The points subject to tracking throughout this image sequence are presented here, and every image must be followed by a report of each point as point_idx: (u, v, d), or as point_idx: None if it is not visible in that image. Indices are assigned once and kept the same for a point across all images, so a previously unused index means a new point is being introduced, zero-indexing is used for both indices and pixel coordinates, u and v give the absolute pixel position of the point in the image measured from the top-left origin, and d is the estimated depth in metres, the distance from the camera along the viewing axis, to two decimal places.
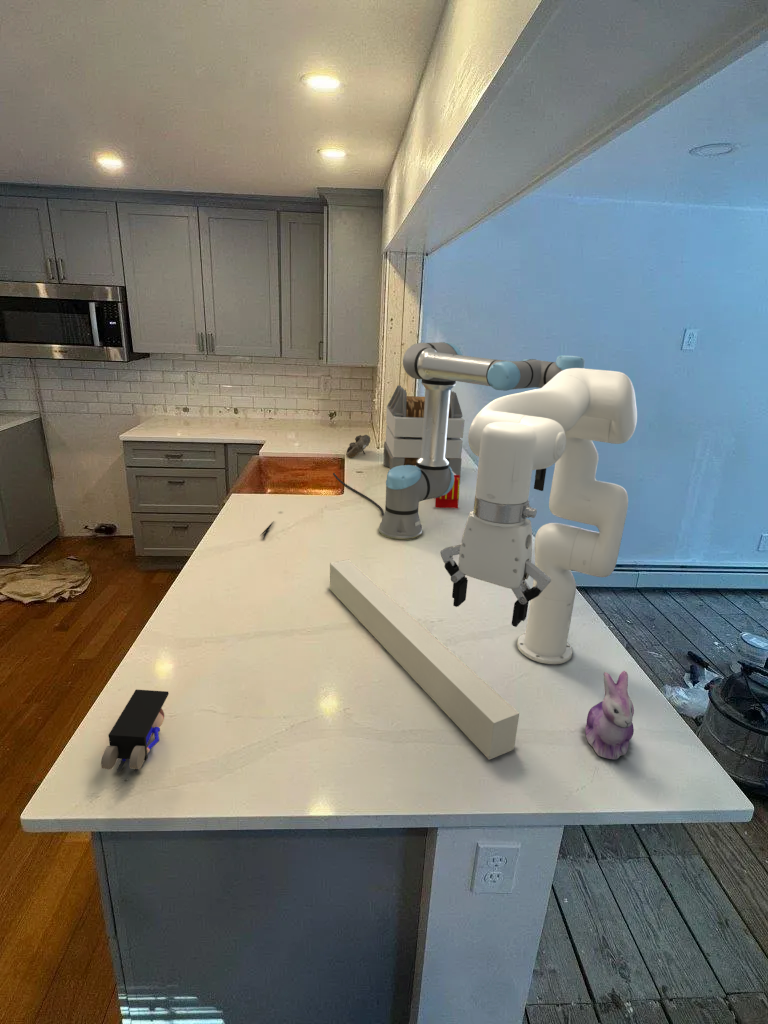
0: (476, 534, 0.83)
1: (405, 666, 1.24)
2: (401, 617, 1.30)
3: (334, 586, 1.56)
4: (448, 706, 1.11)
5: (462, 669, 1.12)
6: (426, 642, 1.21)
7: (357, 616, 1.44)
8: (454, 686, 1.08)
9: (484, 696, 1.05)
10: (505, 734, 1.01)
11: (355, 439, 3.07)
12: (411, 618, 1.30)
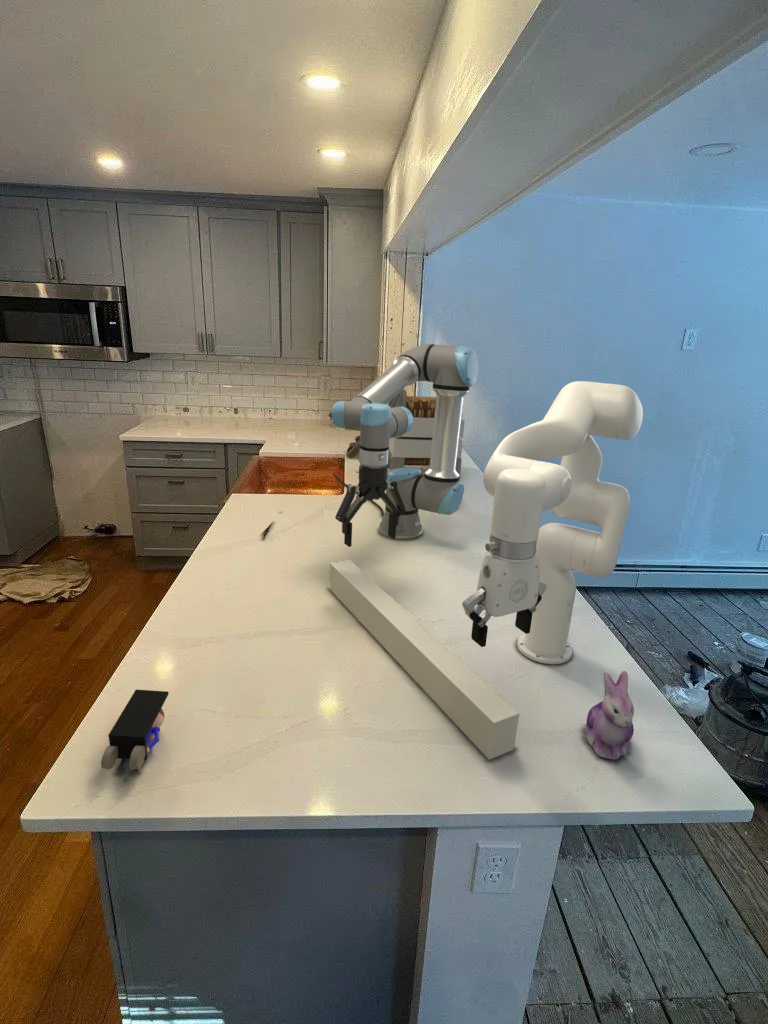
0: None
1: (405, 666, 1.24)
2: (401, 617, 1.30)
3: (334, 586, 1.56)
4: (448, 706, 1.11)
5: (462, 669, 1.12)
6: (426, 642, 1.21)
7: (357, 616, 1.44)
8: (454, 686, 1.08)
9: (484, 696, 1.05)
10: (505, 734, 1.01)
11: (355, 439, 3.07)
12: (411, 618, 1.30)
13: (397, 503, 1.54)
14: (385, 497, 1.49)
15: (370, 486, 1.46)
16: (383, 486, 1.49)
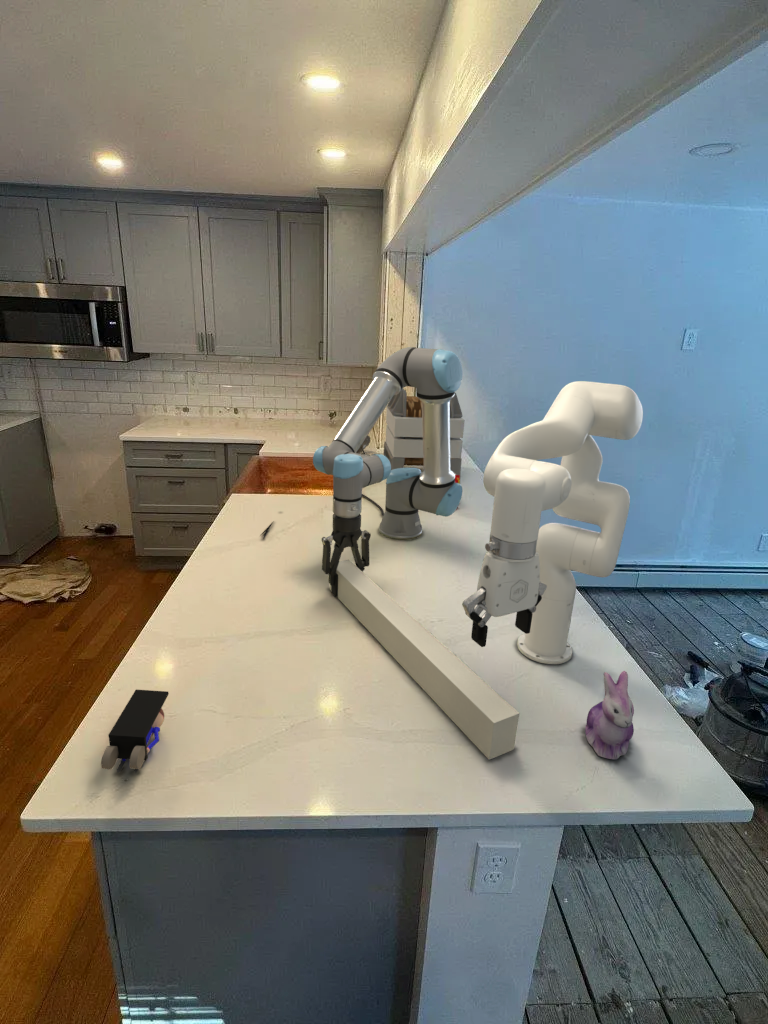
0: None
1: (405, 666, 1.24)
2: (401, 617, 1.30)
3: None
4: (448, 706, 1.11)
5: (462, 669, 1.12)
6: (426, 642, 1.21)
7: (357, 616, 1.44)
8: (454, 686, 1.08)
9: (484, 696, 1.05)
10: (505, 734, 1.01)
11: None
12: (411, 618, 1.30)
13: (363, 555, 1.55)
14: (355, 547, 1.51)
15: (343, 534, 1.49)
16: (357, 533, 1.51)
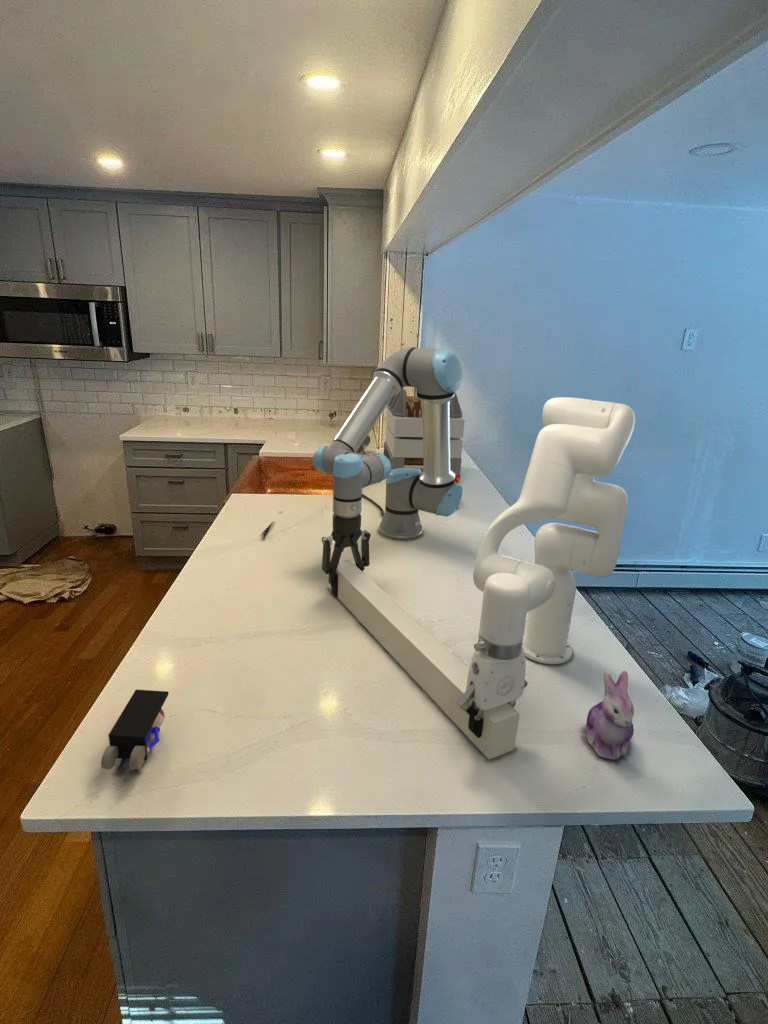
0: None
1: (405, 666, 1.24)
2: (401, 617, 1.30)
3: None
4: (448, 706, 1.11)
5: (462, 669, 1.12)
6: (426, 642, 1.21)
7: (357, 616, 1.44)
8: (454, 686, 1.08)
9: None
10: (505, 734, 1.01)
11: None
12: (411, 618, 1.30)
13: (363, 555, 1.55)
14: (355, 547, 1.51)
15: (343, 534, 1.49)
16: (357, 533, 1.51)
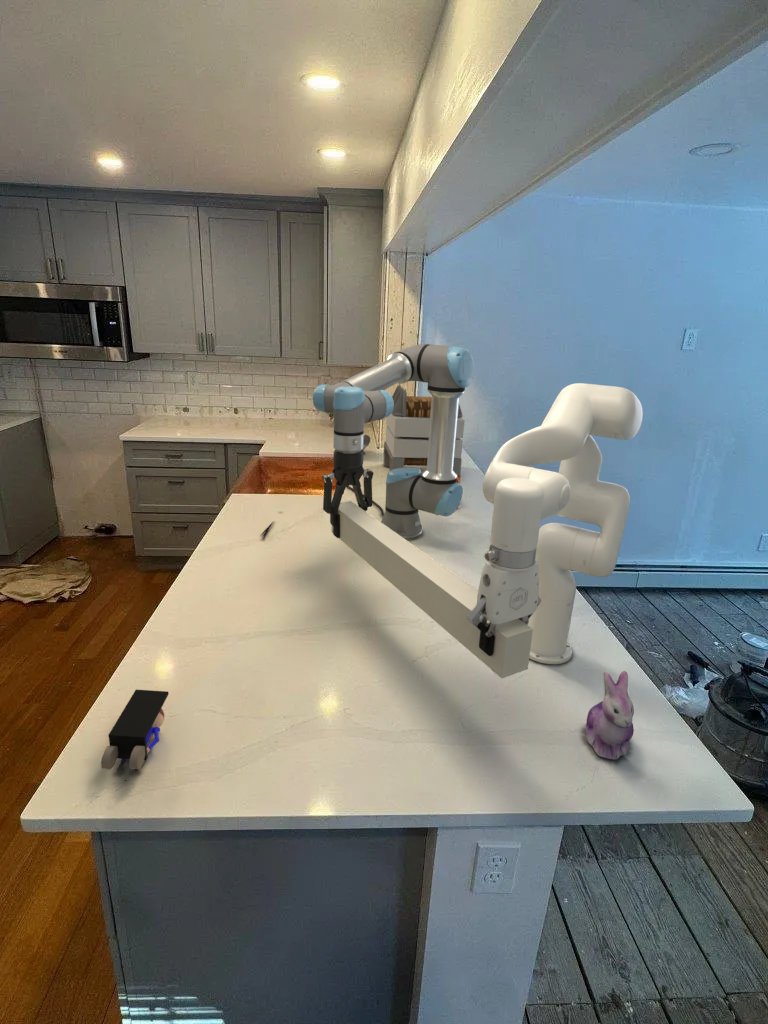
0: None
1: (411, 596, 1.19)
2: (407, 548, 1.25)
3: None
4: (457, 630, 1.05)
5: (471, 592, 1.07)
6: (432, 569, 1.15)
7: (360, 554, 1.39)
8: (463, 607, 1.02)
9: None
10: (518, 651, 0.95)
11: None
12: (417, 549, 1.25)
13: (366, 495, 1.50)
14: (358, 485, 1.46)
15: (345, 472, 1.43)
16: (359, 471, 1.45)
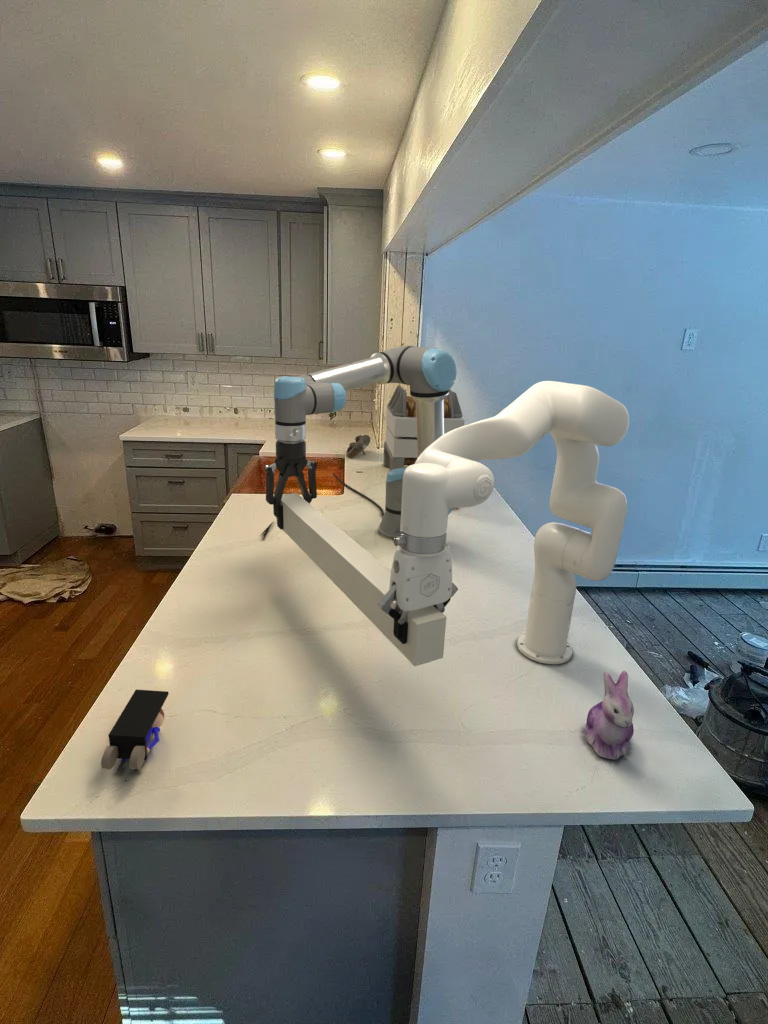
0: None
1: (341, 586, 1.18)
2: (340, 538, 1.24)
3: None
4: (378, 619, 1.05)
5: None
6: (360, 559, 1.15)
7: (300, 545, 1.38)
8: (382, 595, 1.02)
9: None
10: (431, 639, 0.95)
11: (355, 439, 3.07)
12: (350, 539, 1.24)
13: (310, 486, 1.49)
14: (301, 476, 1.45)
15: (287, 462, 1.43)
16: (302, 462, 1.45)
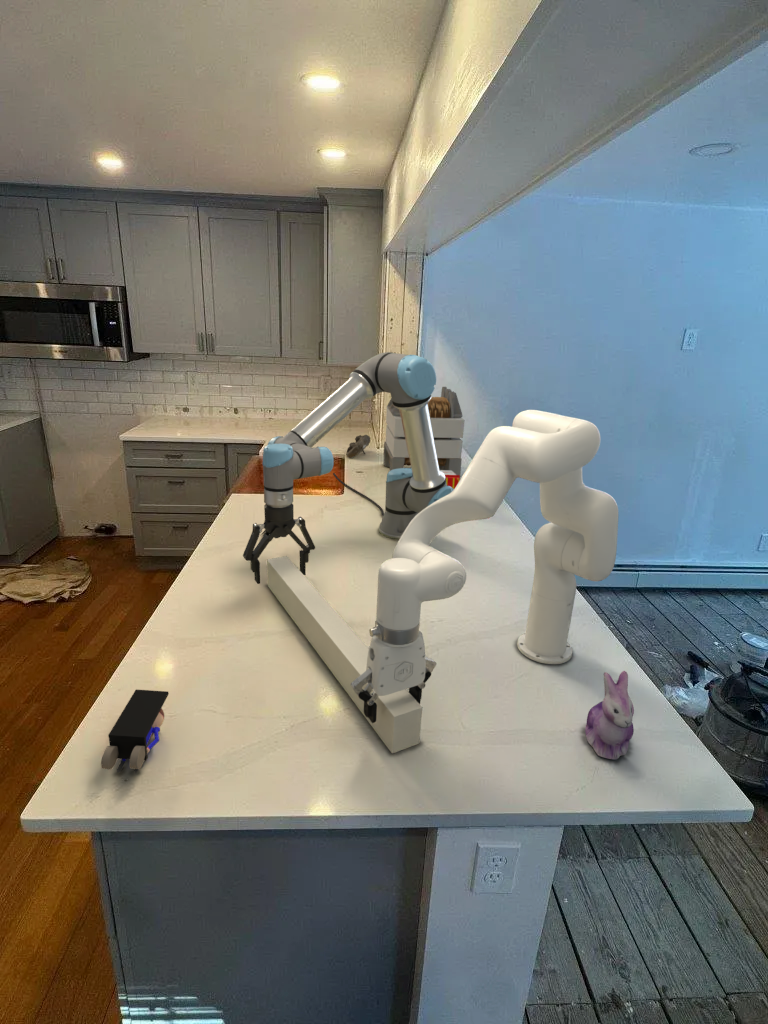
0: None
1: (326, 661, 1.25)
2: (326, 612, 1.31)
3: (270, 582, 1.56)
4: (359, 701, 1.11)
5: None
6: (344, 637, 1.21)
7: (289, 612, 1.44)
8: None
9: None
10: (408, 728, 1.01)
11: (355, 439, 3.07)
12: (335, 614, 1.30)
13: (306, 540, 1.56)
14: (292, 535, 1.51)
15: (275, 524, 1.49)
16: (290, 524, 1.51)
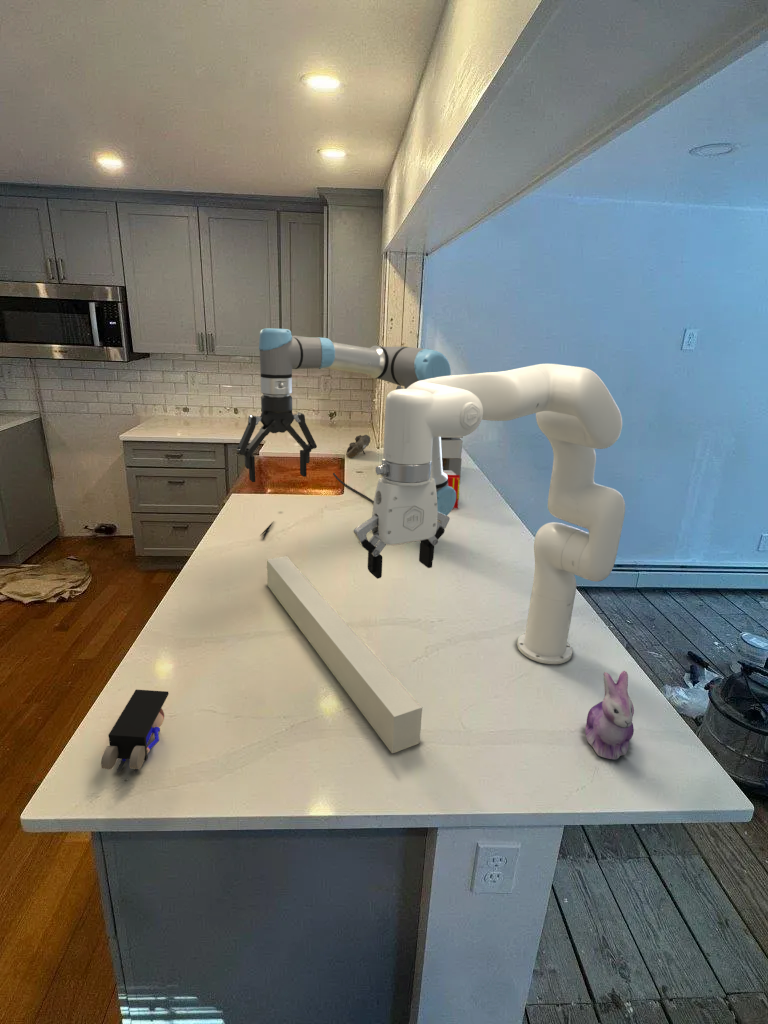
0: None
1: (326, 661, 1.25)
2: (326, 612, 1.31)
3: (270, 582, 1.56)
4: (359, 701, 1.11)
5: (374, 664, 1.13)
6: (344, 637, 1.21)
7: (289, 612, 1.44)
8: (363, 681, 1.08)
9: (391, 690, 1.05)
10: (408, 728, 1.01)
11: (355, 439, 3.07)
12: (335, 614, 1.30)
13: (307, 438, 1.46)
14: (291, 430, 1.42)
15: (273, 417, 1.39)
16: (288, 418, 1.41)
